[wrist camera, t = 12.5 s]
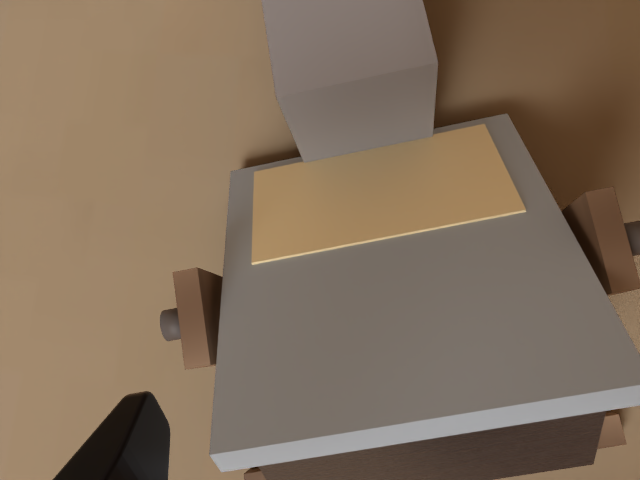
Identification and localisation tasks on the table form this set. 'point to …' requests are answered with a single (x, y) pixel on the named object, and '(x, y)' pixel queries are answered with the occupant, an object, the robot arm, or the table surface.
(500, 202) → the trapdoor
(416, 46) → the tall grey rectangular block
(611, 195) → the trapdoor frame
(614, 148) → the table surface
